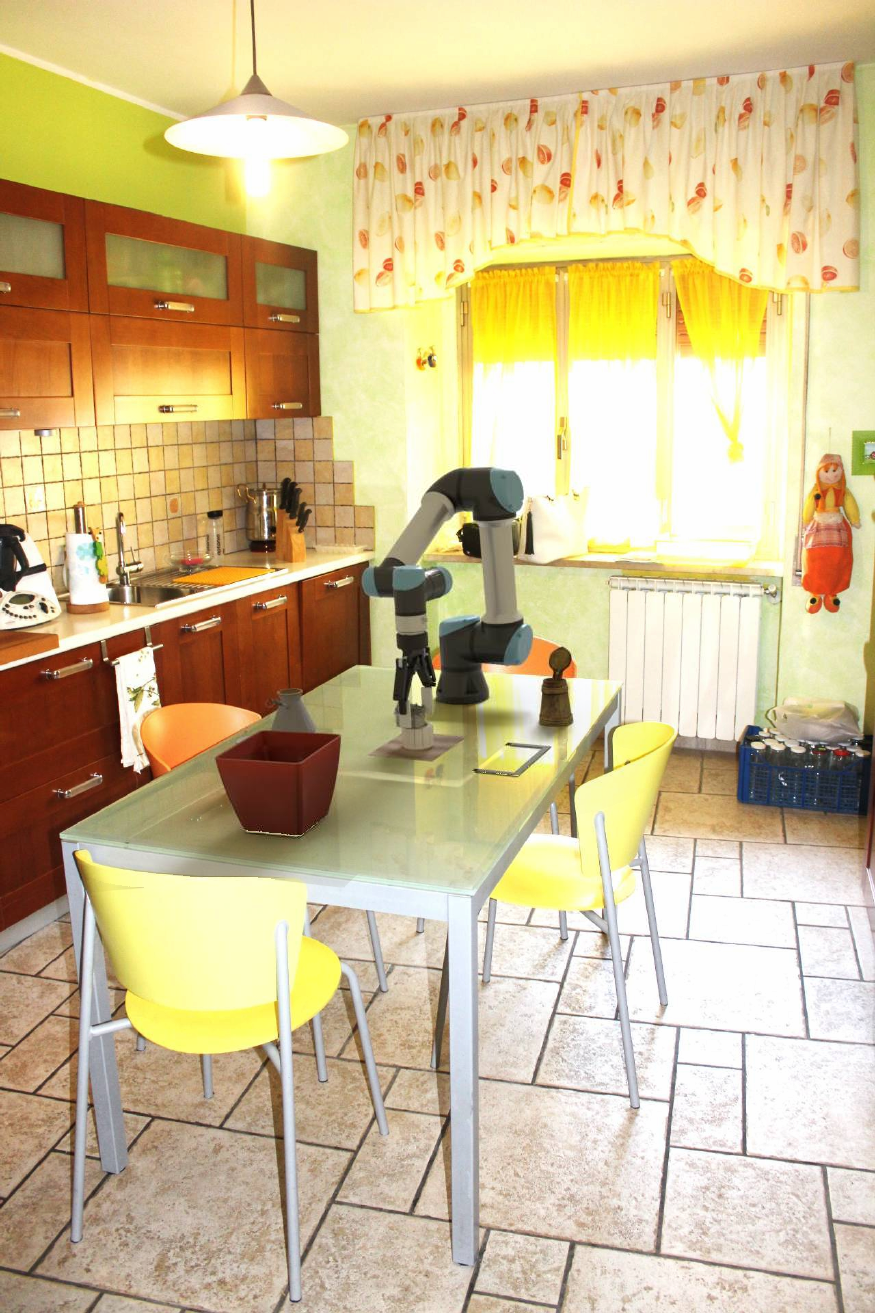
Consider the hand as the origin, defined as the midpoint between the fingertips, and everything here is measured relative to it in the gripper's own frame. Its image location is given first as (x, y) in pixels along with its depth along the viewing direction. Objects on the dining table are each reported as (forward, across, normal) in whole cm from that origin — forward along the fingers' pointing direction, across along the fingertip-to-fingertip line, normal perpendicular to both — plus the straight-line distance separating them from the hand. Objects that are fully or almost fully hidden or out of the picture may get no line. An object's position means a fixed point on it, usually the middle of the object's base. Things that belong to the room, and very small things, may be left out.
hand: (417, 720), depth 266 cm
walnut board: (+8, 0, 0) cm, 8 cm away
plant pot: (+8, -52, +4) cm, 53 cm away
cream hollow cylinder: (+6, 0, 0) cm, 6 cm away
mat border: (+8, 0, -20) cm, 22 cm away
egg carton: (+1, 0, +2) cm, 2 cm away
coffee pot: (+8, -6, +34) cm, 35 cm away
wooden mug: (+8, +34, -24) cm, 42 cm away
